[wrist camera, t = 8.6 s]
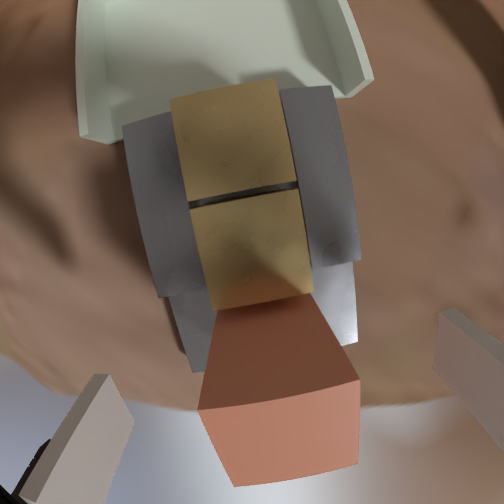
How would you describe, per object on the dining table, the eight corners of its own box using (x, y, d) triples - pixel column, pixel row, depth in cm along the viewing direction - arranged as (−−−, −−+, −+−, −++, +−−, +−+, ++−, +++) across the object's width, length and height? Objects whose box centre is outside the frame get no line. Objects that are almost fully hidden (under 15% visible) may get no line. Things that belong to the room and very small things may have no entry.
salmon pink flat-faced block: (221, 292, 16) (197, 410, 7) (300, 276, 15) (359, 379, 7) (237, 356, 16) (234, 486, 8) (310, 342, 16) (357, 463, 8)
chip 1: (188, 120, 14) (169, 99, 10) (267, 105, 14) (275, 78, 10) (203, 197, 15) (187, 201, 11) (282, 182, 14) (296, 180, 11)
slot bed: (140, 134, 15) (121, 126, 12) (318, 99, 15) (331, 85, 12) (195, 361, 18) (188, 387, 15) (351, 332, 18) (366, 354, 15)
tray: (100, 4, 13) (80, -19, 9) (304, -36, 12) (314, -66, 9) (109, 144, 15) (80, 137, 12) (351, 97, 15) (374, 79, 11)
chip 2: (204, 203, 15) (189, 209, 11) (283, 188, 14) (298, 189, 11) (220, 280, 15) (213, 311, 12) (297, 265, 15) (314, 292, 11)
